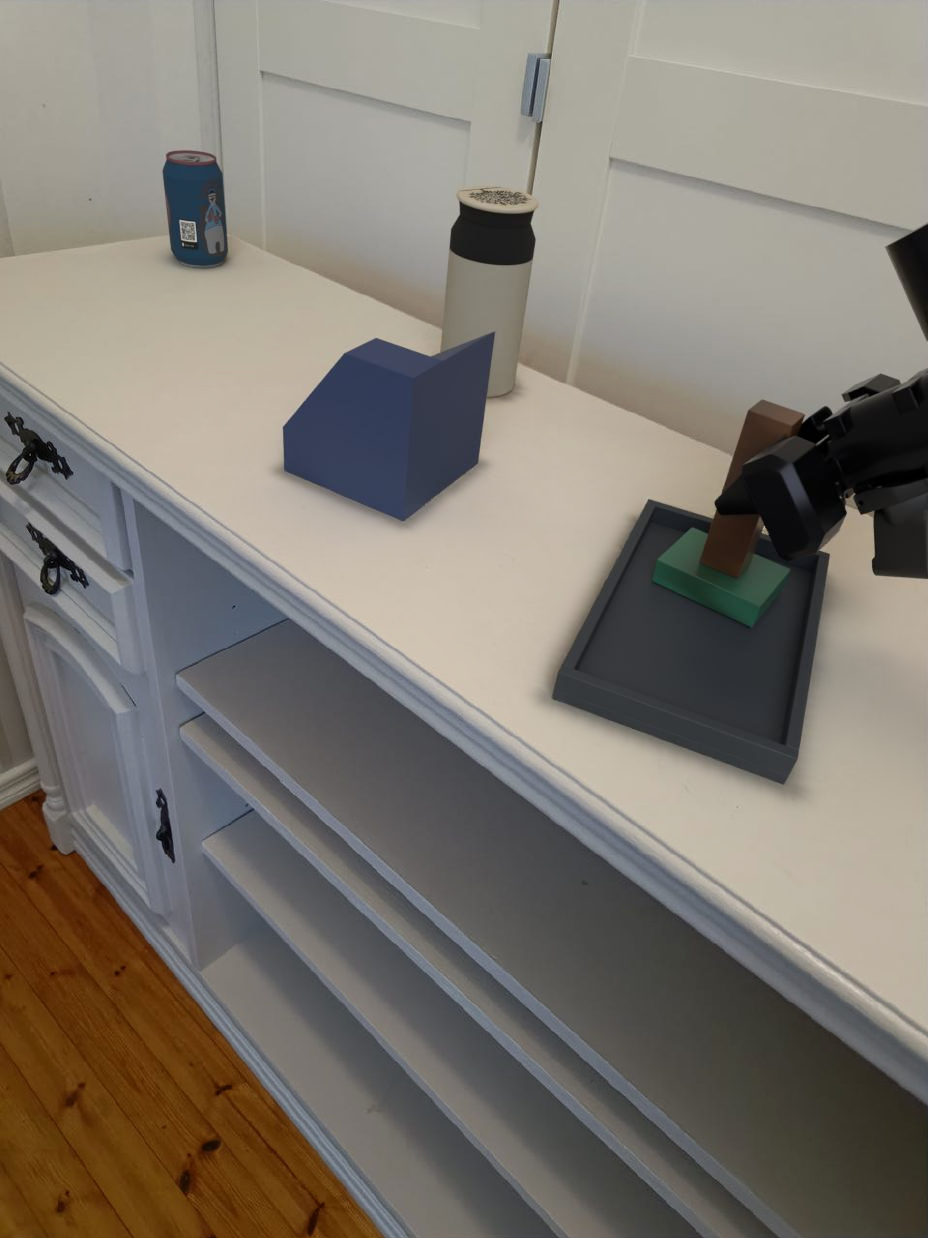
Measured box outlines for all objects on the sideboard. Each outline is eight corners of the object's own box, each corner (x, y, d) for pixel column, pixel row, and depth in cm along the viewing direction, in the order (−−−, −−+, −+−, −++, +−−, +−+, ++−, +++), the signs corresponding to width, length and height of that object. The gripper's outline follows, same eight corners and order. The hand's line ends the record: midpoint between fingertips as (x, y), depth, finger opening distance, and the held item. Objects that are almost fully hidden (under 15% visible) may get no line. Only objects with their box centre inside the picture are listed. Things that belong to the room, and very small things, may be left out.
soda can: (183, 248, 111) (173, 145, 103) (235, 256, 111) (229, 153, 103) (163, 264, 106) (151, 157, 98) (218, 272, 106) (210, 166, 98)
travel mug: (528, 393, 88) (558, 206, 76) (462, 404, 84) (483, 210, 73) (488, 362, 93) (510, 182, 81) (424, 372, 89) (438, 185, 78)
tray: (641, 521, 71) (648, 498, 69) (819, 577, 67) (830, 553, 66) (551, 698, 54) (557, 672, 52) (784, 785, 50) (797, 759, 49)
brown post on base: (782, 590, 63) (852, 418, 55) (752, 628, 60) (822, 449, 51) (685, 547, 67) (736, 378, 58) (650, 581, 63) (700, 405, 54)
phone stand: (367, 420, 80) (372, 291, 72) (478, 463, 76) (495, 330, 68) (284, 470, 71) (279, 329, 64) (403, 520, 67) (413, 377, 60)
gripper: (970, 611, 43) (713, 663, 55) (1051, 487, 54) (824, 552, 66) (882, 410, 41) (637, 508, 53) (984, 326, 53) (765, 422, 65)
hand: (726, 501), depth 60 cm, fingers closed on brown post on base, 2 cm apart
